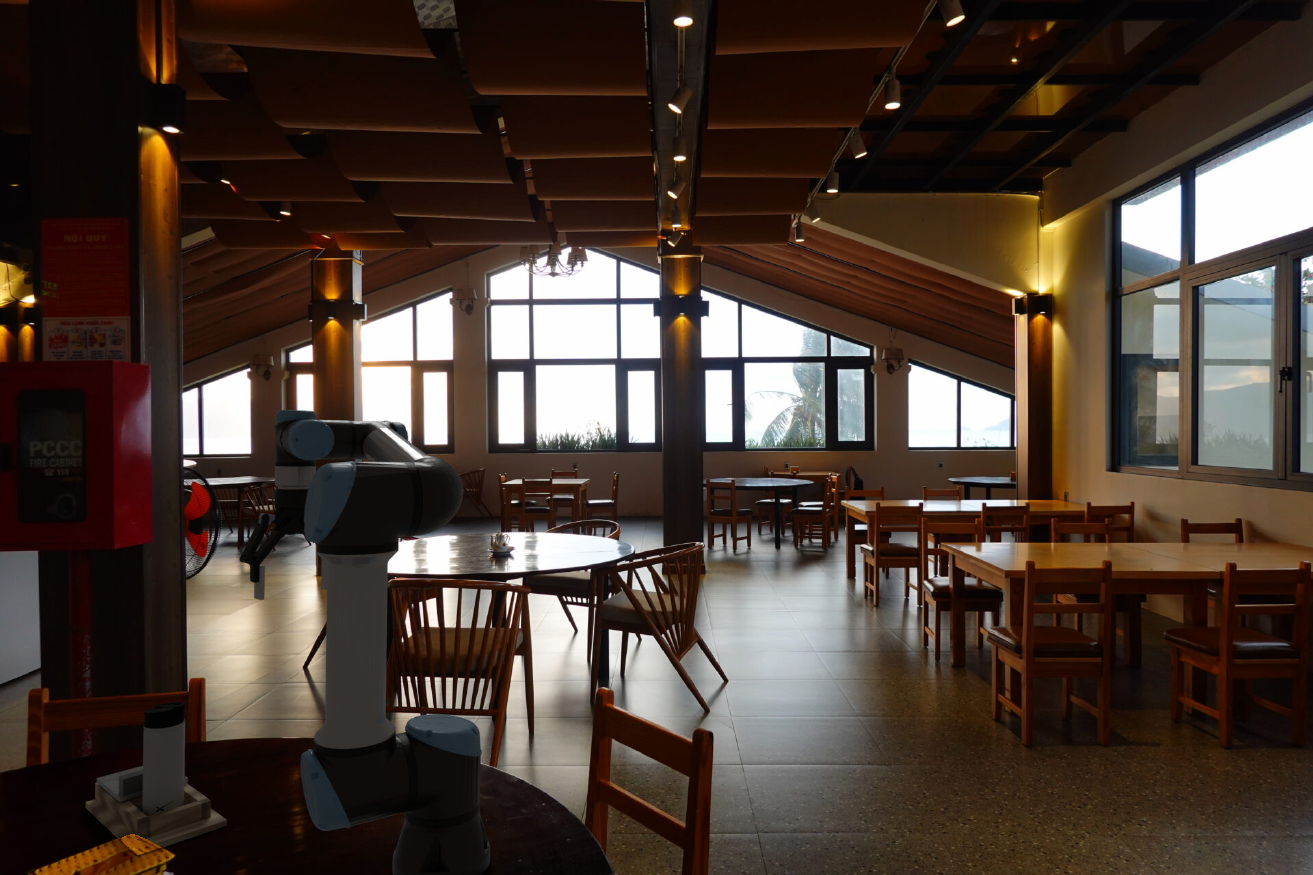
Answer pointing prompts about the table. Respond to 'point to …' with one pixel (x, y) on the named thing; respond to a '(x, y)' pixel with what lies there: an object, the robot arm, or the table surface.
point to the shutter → (126, 783)
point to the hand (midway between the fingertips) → (293, 594)
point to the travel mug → (163, 758)
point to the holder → (156, 817)
